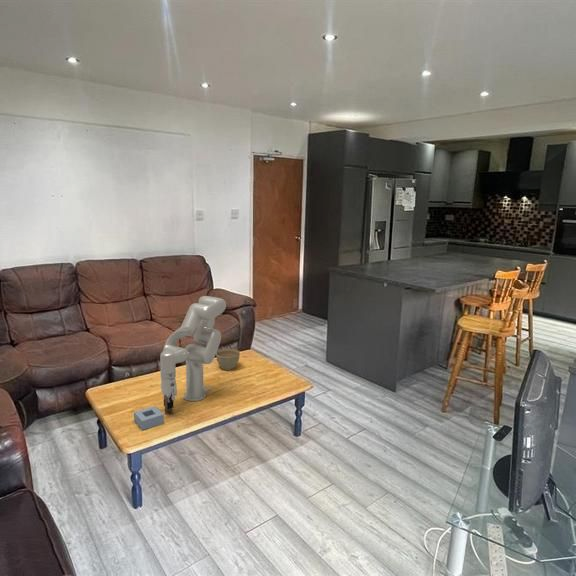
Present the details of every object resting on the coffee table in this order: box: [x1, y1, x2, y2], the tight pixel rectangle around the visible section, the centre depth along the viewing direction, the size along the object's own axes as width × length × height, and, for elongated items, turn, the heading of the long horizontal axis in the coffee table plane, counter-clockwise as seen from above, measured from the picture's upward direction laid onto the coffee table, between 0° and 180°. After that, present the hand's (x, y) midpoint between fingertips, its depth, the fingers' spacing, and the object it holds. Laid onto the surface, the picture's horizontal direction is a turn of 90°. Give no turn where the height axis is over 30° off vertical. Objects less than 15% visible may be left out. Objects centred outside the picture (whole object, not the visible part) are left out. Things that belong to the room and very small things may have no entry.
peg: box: [164, 395, 173, 416], centre depth 218 cm, size 4×4×12 cm
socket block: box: [133, 405, 165, 431], centre depth 209 cm, size 11×11×5 cm
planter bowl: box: [215, 348, 241, 371], centre depth 281 cm, size 16×16×11 cm
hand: (168, 406), depth 219 cm, fingers closed on peg, 3 cm apart
